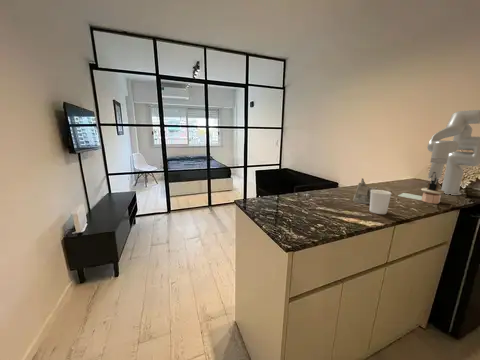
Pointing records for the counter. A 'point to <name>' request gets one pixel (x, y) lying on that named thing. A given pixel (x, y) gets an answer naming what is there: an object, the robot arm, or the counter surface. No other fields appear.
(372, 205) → the candle holder
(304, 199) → the counter surface
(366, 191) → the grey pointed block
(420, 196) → the mat
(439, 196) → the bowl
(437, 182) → the lid
